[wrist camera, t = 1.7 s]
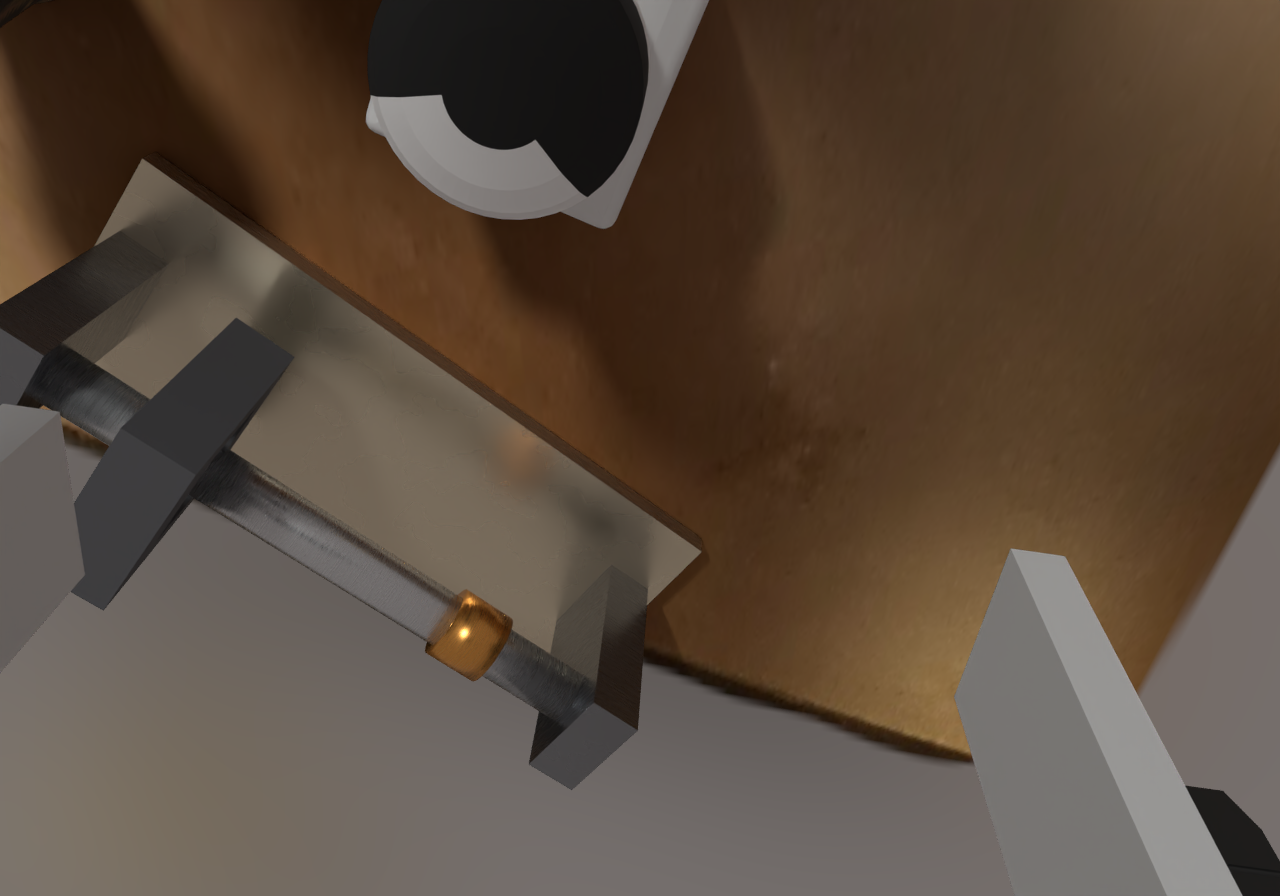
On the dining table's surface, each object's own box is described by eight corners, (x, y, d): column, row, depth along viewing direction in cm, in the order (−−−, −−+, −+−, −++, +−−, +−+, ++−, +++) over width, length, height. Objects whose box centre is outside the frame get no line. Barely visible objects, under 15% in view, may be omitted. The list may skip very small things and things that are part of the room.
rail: (47, 346, 42) (-113, 463, 34) (155, 151, 38) (3, 229, 30) (564, 674, 49) (536, 837, 41) (701, 538, 45) (702, 689, 37)
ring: (156, 440, 40) (32, 569, 33) (236, 317, 37) (120, 428, 30) (212, 475, 41) (103, 610, 33) (294, 356, 38) (195, 475, 31)
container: (493, -154, 33) (384, -167, 22) (717, -47, 34) (725, -7, 23) (422, 81, 37) (295, 177, 25) (626, 171, 38) (593, 301, 26)
